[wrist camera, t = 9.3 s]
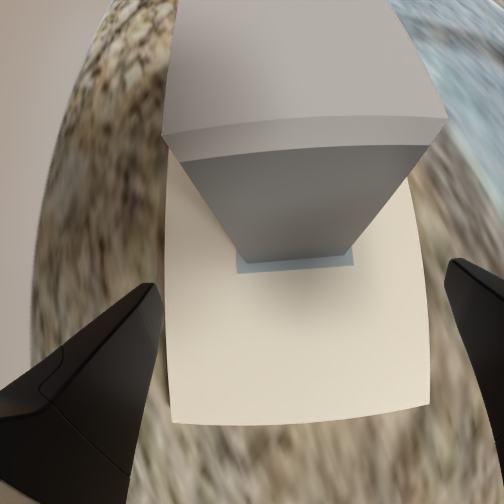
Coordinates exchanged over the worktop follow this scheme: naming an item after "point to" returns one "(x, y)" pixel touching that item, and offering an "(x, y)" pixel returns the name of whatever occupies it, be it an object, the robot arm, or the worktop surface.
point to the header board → (292, 321)
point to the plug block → (296, 118)
